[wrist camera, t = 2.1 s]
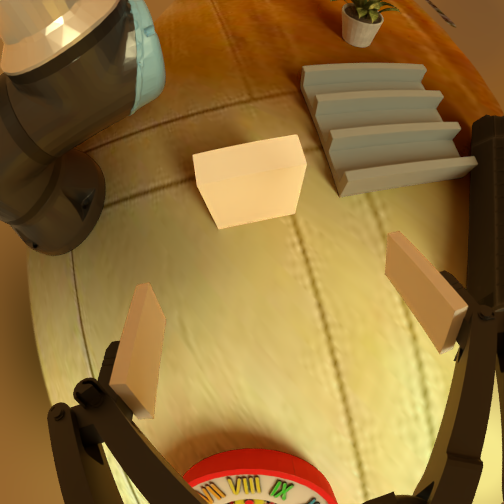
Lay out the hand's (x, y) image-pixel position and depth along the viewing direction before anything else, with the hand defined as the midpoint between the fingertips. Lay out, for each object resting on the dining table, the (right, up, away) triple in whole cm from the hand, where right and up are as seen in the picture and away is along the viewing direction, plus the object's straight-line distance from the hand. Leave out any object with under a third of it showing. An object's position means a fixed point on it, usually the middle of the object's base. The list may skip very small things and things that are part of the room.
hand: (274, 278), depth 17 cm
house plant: (+16, +39, +27) cm, 50 cm away
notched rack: (+17, +19, +22) cm, 34 cm away
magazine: (+30, +6, +19) cm, 36 cm away
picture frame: (-1, +6, +20) cm, 21 cm away
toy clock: (-1, -31, +12) cm, 33 cm away
